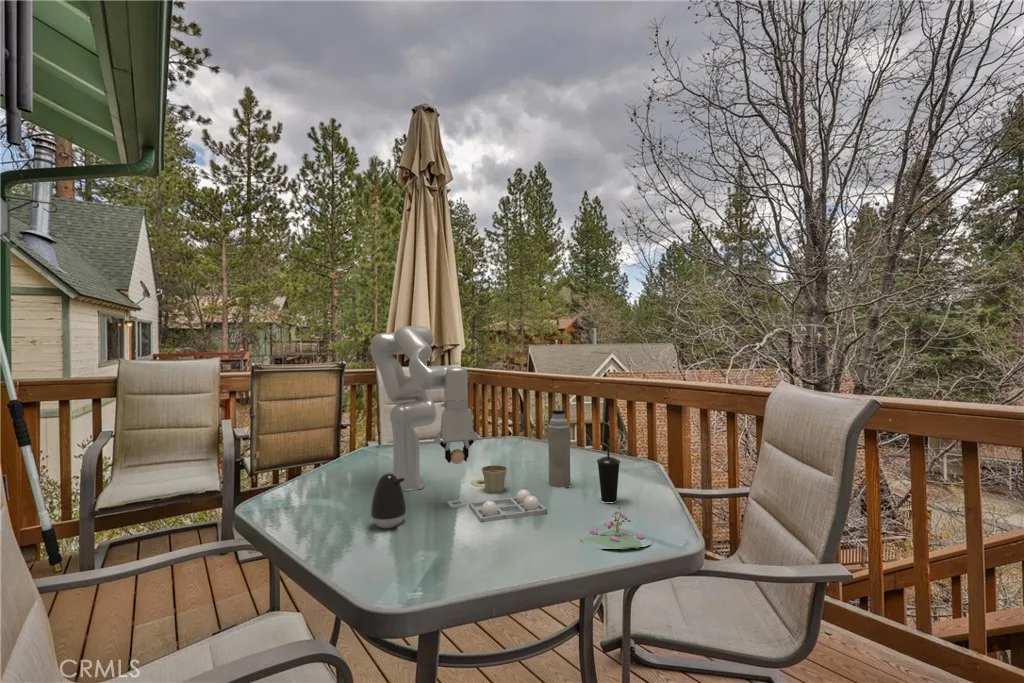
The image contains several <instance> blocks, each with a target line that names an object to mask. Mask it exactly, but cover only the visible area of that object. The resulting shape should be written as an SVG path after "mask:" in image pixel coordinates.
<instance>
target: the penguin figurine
mask: <svg viewBox="0 0 1024 683" xmlns="http://www.w3.org/2000/svg"><path fill="white" fill-rule="evenodd" d="M403 481H404V478H400V479H398V478H397V477H396V476H395V475H394V473H385V474H383V475H382V476H381V477H380V478H379V480H378V481H377V483H376V485H375V488H374V492H373V495H372V500H371V505H370V517H371V518H372V521H373V523H374V524H375V525H376V526H377V527H378V528H381V529H393V528H396V527H398V525H400V524H401V523H402V522H403V521H404V519H405V517H406V514H407V503H406V497H405V492H403V489H402V487H401V484H400V483H401V482H403Z"/></svg>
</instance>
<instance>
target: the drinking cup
mask: <svg viewBox="0 0 1024 683" xmlns="http://www.w3.org/2000/svg"><path fill="white" fill-rule="evenodd" d="M606 445H607V446H606V449H607V450H606V451H607V453H606V454H607V456H602V457H600V458H597V459H596V462H597V467H598V468H597V469H598V479H599V488H600V497H601V502H602V501H604V502H615V501H616V502H617V497H618V488H619V487H618V486H619V473H620V464H621V460H620V459H618V458H615V457H613V456H610V441H607V444H606Z"/></svg>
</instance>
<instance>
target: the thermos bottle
mask: <svg viewBox="0 0 1024 683" xmlns="http://www.w3.org/2000/svg"><path fill="white" fill-rule="evenodd" d="M551 414H552V415H551V419H549V425H548V426H547V428H548V429H547V433H548V435H547V436H548V440H547V441H548V442H547V443H548V485H549V486H550V487H553V488H564V489H568V488H567V487H569V486H570V487H571V445H570V444H571V441H570V440H571V435H570V434H571V431H570V429H571V428H570V424H568V423H569V421H568V418H566V411H565V410H562V409H561V410H560V409H556V410H552V411H551ZM570 487H569V488H570Z"/></svg>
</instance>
